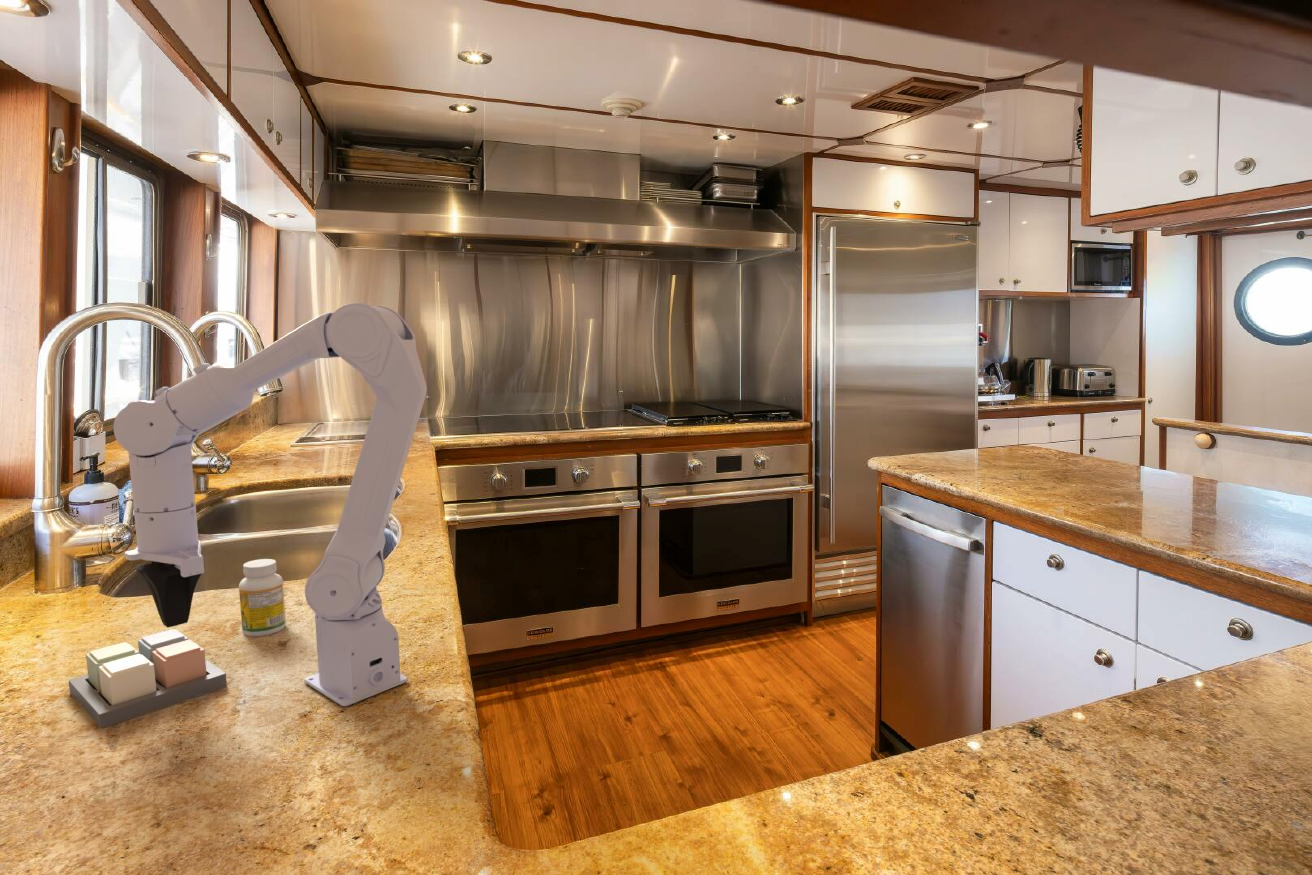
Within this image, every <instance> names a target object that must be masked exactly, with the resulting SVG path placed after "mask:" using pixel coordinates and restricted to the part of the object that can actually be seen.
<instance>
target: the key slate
mask: <svg viewBox="0 0 1312 875" xmlns="http://www.w3.org/2000/svg"><path fill="white" fill-rule="evenodd" d="M186 640H190V639H189V637H187V635H184V634H183V633H182V632H180V630H178V629H175V628H173V629H168V630H163V631H160V632H158V633H154V634H149V635H146V636H142V637H141V639H137V643H138V652H139V654H140V655H143V656H144V657H145V658H147V659H148V660H149V661H150V662H151V663H153V655H152V651H156V649H157V648H161V647H164V646H168V645H171V644H175V643H179V642H182V641H186Z"/></svg>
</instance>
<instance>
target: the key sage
mask: <svg viewBox="0 0 1312 875" xmlns="http://www.w3.org/2000/svg"><path fill="white" fill-rule="evenodd" d="M136 654H139V650H137V649H136V648H135V647H133V645H131V644H130V643H129V642H126V641H124V642H119V643H117V644H112V645H108V646H104V647H100V648H98V649H93V650H91V651H90V650H89V652H88V653H85V660H86V670H87V674H88V679H89V682H90V683H91V684H92V685H93V686H94V687H95V688H96V690H97V691H100V690H101V684H100V675H99V666H103V664H104V663H108V662H111V661H115V660H118V659H122V658H125V657H129V656H132V655H136Z"/></svg>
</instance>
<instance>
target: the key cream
mask: <svg viewBox="0 0 1312 875" xmlns="http://www.w3.org/2000/svg"><path fill="white" fill-rule="evenodd" d="M99 675H100V684H101V694H102V695H103V696H104V697H105V698H106V700H107V701H108V702H109V703H108V704H109V705H110V706H112V705H115V704H119V703H122V702H125V701H128V700H131V699H134V698H137V697H140V696H143V695H147V694H150V693H153V692H156V682H155V671H154V664H153V663H151V662H150V661H149V660H148V659H147V658H145V657H144V656H143V655H140V654H136V655H132V656H129V657H125V658H122V659H118V660H115V661H111V662H108V663H104V664H103V666H99Z"/></svg>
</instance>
